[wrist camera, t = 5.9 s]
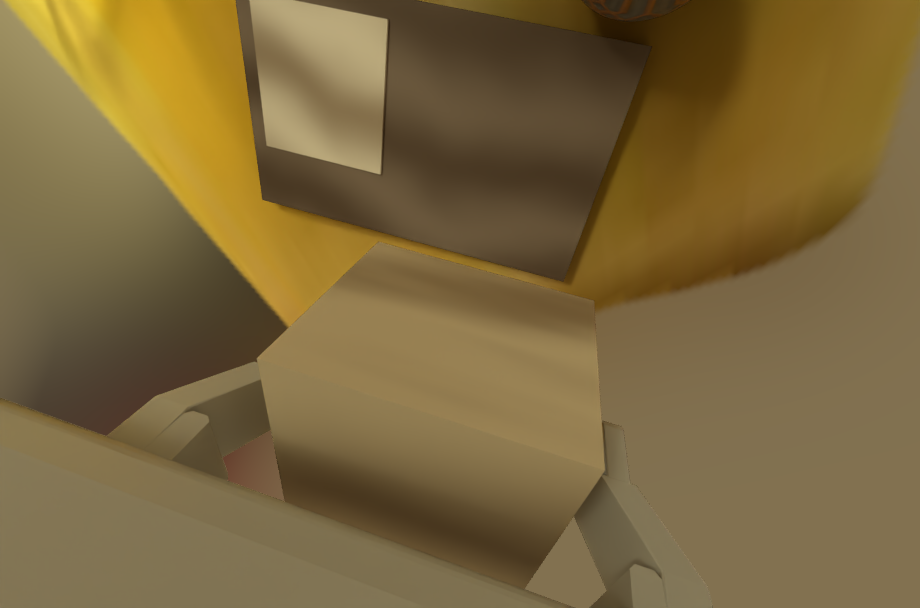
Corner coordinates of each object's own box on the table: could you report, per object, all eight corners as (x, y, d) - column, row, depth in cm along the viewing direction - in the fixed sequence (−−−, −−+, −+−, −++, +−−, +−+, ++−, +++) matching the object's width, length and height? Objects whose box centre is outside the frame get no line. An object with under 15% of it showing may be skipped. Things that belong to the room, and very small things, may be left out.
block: (378, 241, 11) (257, 358, 7) (593, 300, 10) (604, 470, 6) (371, 388, 14) (289, 523, 10) (532, 439, 13) (512, 606, 9)
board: (244, -33, 21) (228, -37, 20) (648, 46, 19) (652, 46, 18) (271, 195, 29) (261, 200, 28) (563, 274, 26) (563, 282, 25)
